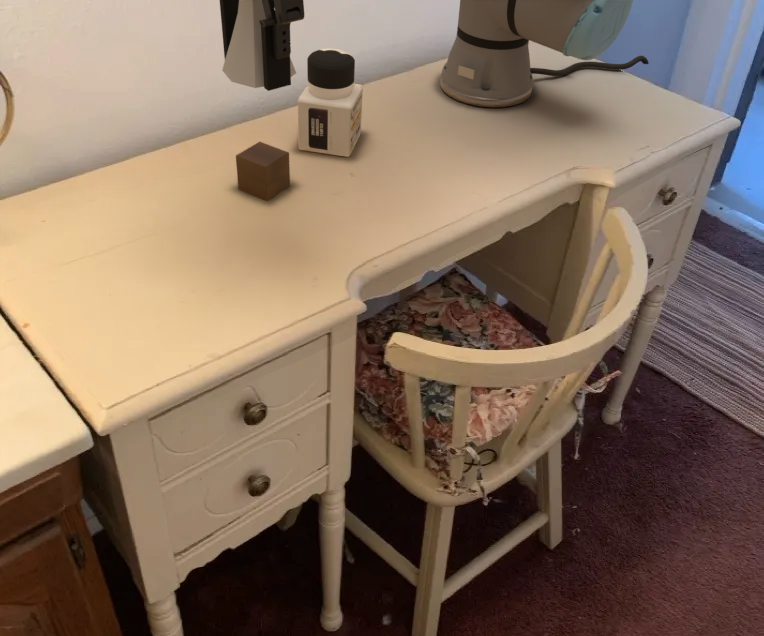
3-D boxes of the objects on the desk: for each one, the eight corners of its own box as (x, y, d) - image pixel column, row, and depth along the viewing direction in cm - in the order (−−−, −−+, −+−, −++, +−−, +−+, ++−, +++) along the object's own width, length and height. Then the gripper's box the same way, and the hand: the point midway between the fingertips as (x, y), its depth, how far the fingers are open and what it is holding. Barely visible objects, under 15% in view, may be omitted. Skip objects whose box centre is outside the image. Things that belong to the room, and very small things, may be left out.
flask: (264, 54, 90) (258, -46, 83) (308, 76, 87) (306, -26, 80) (210, 72, 87) (198, -31, 80) (253, 96, 83) (246, -9, 76)
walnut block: (261, 174, 115) (259, 141, 112) (290, 186, 114) (289, 152, 110) (238, 189, 112) (235, 155, 109) (267, 201, 111) (265, 167, 107)
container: (349, 158, 120) (352, 68, 111) (297, 150, 121) (296, 61, 112) (361, 134, 126) (364, 47, 117) (311, 126, 126) (311, 40, 117)
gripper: (146, -213, 74) (178, 46, 90) (266, -167, 63) (278, 119, 79) (220, -218, 78) (238, 32, 94) (346, -175, 67) (343, 100, 83)
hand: (257, 72), depth 86 cm, fingers closed on flask, 7 cm apart
